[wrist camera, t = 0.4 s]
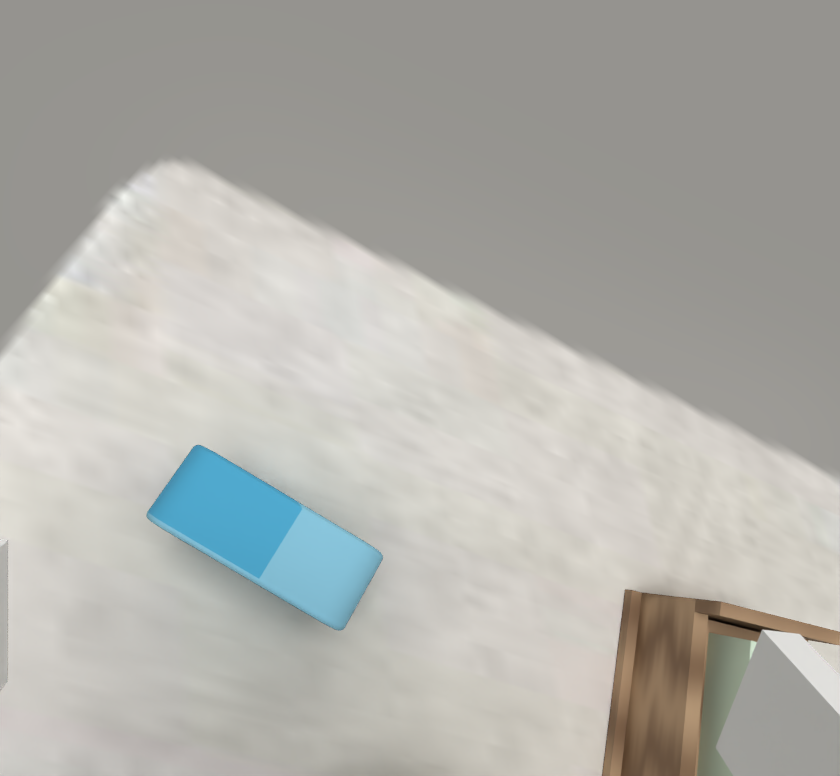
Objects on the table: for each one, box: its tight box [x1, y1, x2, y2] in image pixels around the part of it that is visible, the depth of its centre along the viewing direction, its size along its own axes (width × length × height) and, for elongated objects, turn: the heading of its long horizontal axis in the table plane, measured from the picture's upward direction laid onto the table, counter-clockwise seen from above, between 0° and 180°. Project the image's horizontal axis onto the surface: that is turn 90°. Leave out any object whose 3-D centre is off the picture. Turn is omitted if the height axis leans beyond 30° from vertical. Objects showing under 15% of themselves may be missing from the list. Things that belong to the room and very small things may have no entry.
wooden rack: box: [602, 590, 840, 776], centre depth 40 cm, size 20×10×10 cm, turn 167°
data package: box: [147, 445, 383, 630], centre depth 38 cm, size 12×4×12 cm, turn 61°
